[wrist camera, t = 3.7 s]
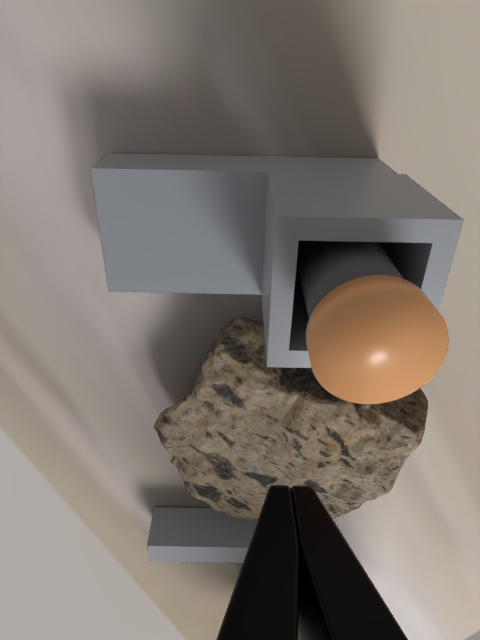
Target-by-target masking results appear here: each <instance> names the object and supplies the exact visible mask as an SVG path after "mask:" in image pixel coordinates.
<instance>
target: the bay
mask: <svg viewBox="0 0 480 640" xmlns="http://www.w3.org/2000/svg"><path fill="white" fill-rule="evenodd" d="M90 171H91V178H92V184H93V191H94V198H95V204H96V211H97V218H98V224H99V231H100V237H101V244H102V251H103V257H104V264H105V271H106V277H107V284H108V291H109V292H151V293H204V294H257V295H262V307H263V321H264V335H265V349H266V364H267V367H285V368H312V367H311V363H310V359H309V354H308V349H307V344H306V329H307V324H308V321H309V317H308V312H307V308H306V304H305V300H304V296H303V291H302V287H301V283H300V279H299V275H298V270H297V266H296V265H297V254H298V243H299V240H300V241H353V242H379V244H380V245H381V247H382V248H383V249H384V251H385V252H386V254H387V255H388V257H389V258H390V260H391V261H392V263H393V264H394V265H395V267H396V268H397V270H398V271H399V273H400V274H401V276H402V277H403V278H404V279H405V280H407V281H409V282H411V283H413V284H415V285H416V286H417V287H419V288H420V289H421V290H422V291H423V292H424V293H425V294H426V295H427V297H428V298H429V299H430V301H431V302H432V304H433V305H434V306H435V308H436V309H437V310H438V309H439V306H440V302H441V299H442V295H443V292H444V288H445V285H446V281H447V277H448V274H449V270H450V267H451V263H452V260H453V256H454V253H455V249H456V246H457V242H458V238H459V235H460V231H461V228H462V224H463V221H464V220H463V219H462V218H461V217H459V216H458V215H457V214H456V213H454V212H453V211H452V210H451V209H449V208H448V207H447V206H445V205H444V204H443V203H442V202H440V201H439V200H438V199H437V198H435V197H434V196H433V195H431V194H430V193H429V192H428V191H426V190H425V189H424V188H423V187H421V186H420V185H419V184H417V183H416V182H415V181H414V180H412V179H411V178H410V177H409V176H407V175H405V174H397V173H396V172H395V171H394V170H392V169H391V168H390V167H389V166H388V165H386V164H385V163H384V162H383V161H381V160H380V159H379V158H343V157H291V156H240V155H189V154H138V153H109V154H108V155H107V156H105V157H104V158H103V159H101V160H100V161H99V162H98V163H96V164H95V165H94V166H93V167H91V168H90ZM257 520H258V518H257V519H244V518H238V517H233V516H230V515H229V514H227V513H226V512H224V511H216V510H215V509H213V508H183V507H154V512H153V517H152V522H151V527H150V532H149V537H148V542H147V551H148V557H149V562H205V563H243V561H244V558H245V555H246V552H247V549H248V547H249V544H250V541H251V538H252V535H253V532H254V529H255V526H256V523H257Z"/></svg>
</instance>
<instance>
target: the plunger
mask: <svg viewBox="0 0 480 640" xmlns="http://www.w3.org/2000/svg"><path fill="white" fill-rule="evenodd" d="M296 266H297V270H298V275H299V279H300V283H301V287H302V291H303V296H304V300H305V304H306V308H307V312H308V317H309V321H308V324H307V329H306V344H307V349H308V354H309V359H310V363H311V367H312V371H313V373H314V375H315V377H316V379H317V380H318V382H319V383H320V385H321V386H322V387H323V388H324V389H325V390H327V391H328V392H329V393H331V394H332V395H334V396H336V397H338V398H340V399H343V400H345V401H349V402H353V403H358V404H379V403H386V402H390V401H394V400H397V399H400V398H402V397H405V396H407V395H409V394H411V393H413V392H415V391H416V390H418V389H419V388H421V387H422V386H423V385H425V384H426V383H427V382H428V381H429V380H430V379H431V378H432V377H433V376H434V375H435V374H436V372H437V371H438V370H439V368H440V367H441V365H442V363H443V361H444V359H445V356H446V354H447V350H448V343H449V336H448V330H447V326H446V323H445V321H444V319H443V317H442V316H441V314H440V313H439V312H438V310H437V309H436V308H435V306H434V305H433V304H432V302H431V301H430V299H429V298H428V297H427V295H426V294H425V293H424V292H423V291H422V290H421V289H420V288H419V287H417V286H416V285H415V284H413V283H411V282H409V281H407V280H405V279H404V278H403V277H402V276H401V274H400V273H399V271H398V270H397V268H396V267H395V265H394V264H393V263H392V261H391V260H390V258H389V257H388V255H387V254H386V252H385V251H384V249H383V248H382V247H381V245H380V244H379V242H353V241H300V240H299V243H298V254H297V265H296Z"/></svg>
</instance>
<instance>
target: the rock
mask: <svg viewBox="0 0 480 640" xmlns="http://www.w3.org/2000/svg"><path fill="white" fill-rule="evenodd" d="M427 410H428V401H427V398H426V396H425V394H424V393H423V391H422V390H421V388H419V389H418V390H416V391H415V392H413V393H411V394H409V395H407V396H405V397H402V398H400V399H397V400H394V401H390V402H386V403H379V404H358V403H353V402H349V401H345V400H343V399H340V398H338V397H336V396H334V395H332V394H331V393H329V392H328V391H327V390H325V389H324V388H323V387H322V386H321V385H320V383H319V382H318V380H317V379H316V377H315V375H314V373H313V371H312V368H285V367H267V364H266V349H265V335H264V324H263V323H260V322H257V321H254V320H250V319H246V318H241V317H240V318H234V319H232V320H231V321H230V322H229V323H228V324H227V325H225V326H224V327H223V328H221V330H220V332H219V334H218V336H217V338H216V339H215V341H214V342H213V344H212V346H211V348H210V350H209V353H208V355H207V358H206V360H205V361H204V362H203V363H202V365H201V371H200V373H199V375H198V378H197V380H196V382H195V385H194V387H193V388H192V390H191V391H190V392H189V394H188V395H187V396H186V397H185V398H184V399H183V400H182V401H180V402H179V403H178V404H176V405H175V406H173V407H170V408H167V409H166V410H164V411H163V412H161V414H160V415H159V417H158V419H157V420H156V422H155V425H154V429H155V430H156V431H157V432H158V435H159V438H160V441H161V443H162V444H163V446H164V447H165V448H166V450H167V451H168V452H169V453H171V454H172V455H173V458H172V459H171V461H170V462H171V463H173V464H175V465H176V466H177V467H178V471H179V473H180V474H181V477H182V479H183V480H184V483H185V488H186V489H187V490H188V491H189V492H190V493H191V494H192V496H193V497H194V498H196V499H199V500H201V501H204V502H206V503H208V504H209V505H210V506H211V507H212V508H213V509H215V510H216V511H224V512H226V513H227V514H229V515H230V516H233V517H238V518H244V519H257V518H259V515H260V512H261V509H262V506H263V503H264V500H265V497H266V494H267V491H268V489H269V487H270V486H271V485H287V486H289V487H290V488H291V487H292V486H310V487H312V488H313V489H314V490H315V492H316V493H317V495H318V497H319V498H320V500H321V501H322V503H323V505H324V506H325V508H326V509H327V511H328V513H329V514H330V516H331V517H332V518H334V519H335V518H337V517H339V516H341V515H343V514H346V513H348V512H350V511H351V510H354V509H357V508H359V507H360V506H361V505H362V504H363V503H364V502H365V501H368V500H373V499H376V498H377V497H379V496H381V495H383V494H386V493H388V492H389V491H390V490H391V489H392V487H393V485H394V482H395V480H396V478H397V475H398V473H399V471H400V469H401V467H402V465H403V464H404V462H405V460H406V459H407V457H408V456H409V454H410V453H411V452H412V451H413V450H415V449H416V448H417V447H418V446H419V445H420V443H421V441H422V437H423V434H424V430H425V423H426V417H427Z"/></svg>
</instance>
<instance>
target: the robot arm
mask: <svg viewBox="0 0 480 640" xmlns="http://www.w3.org/2000/svg"><path fill="white" fill-rule="evenodd" d="M217 640H408V639H407V637H406V636H405V634H404V633H403V631H402V629H401V628H400V626H399V625H398V623H397V621H396V620H395V618H394V617H393V615H392V613H391V612H390V610H389V609H388V607H387V605H386V604H385V602H384V601H383V599H382V597H381V596H380V594H379V593H378V591H377V589H376V588H375V586H374V585H373V583H372V581H371V580H370V578H369V577H368V575H367V573H366V572H365V570H364V569H363V567H362V565H361V564H360V562H359V561H358V559H357V557H356V556H355V554H354V553H353V551H352V549H351V548H350V546H349V545H348V543H347V541H346V540H345V538H344V537H343V535H342V533H341V532H340V530H339V529H338V527H337V525H336V524H335V522H334V521H333V519H332V517H331V516H330V514H329V513H328V511H327V509H326V508H325V506H324V505H323V503H322V501H321V500H320V498H319V497H318V495H317V493H316V492H315V490H314V489H313V488H312V487H310V486H292V487H291V488H290V487H289V486H287V485H271V486H270V487H269V489H268V491H267V494H266V497H265V500H264V503H263V506H262V509H261V512H260V515H259V518H258V520H257V523H256V526H255V529H254V532H253V535H252V538H251V541H250V544H249V547H248V549H247V552H246V555H245V558H244V561H243V564H242V567H241V570H240V573H239V576H238V579H237V581H236V584H235V587H234V590H233V593H232V596H231V599H230V602H229V605H228V608H227V611H226V613H225V616H224V619H223V622H222V625H221V628H220V631H219V634H218V637H217Z"/></svg>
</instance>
